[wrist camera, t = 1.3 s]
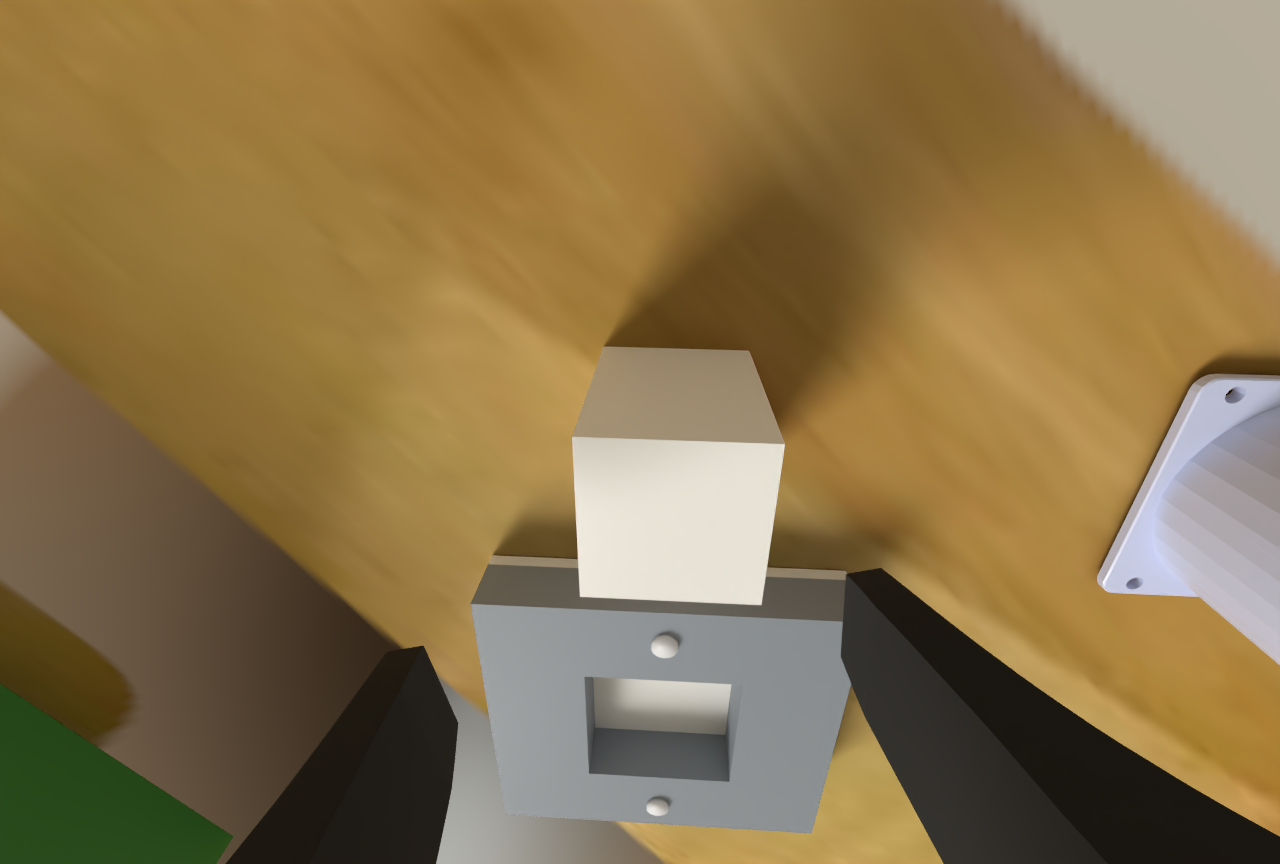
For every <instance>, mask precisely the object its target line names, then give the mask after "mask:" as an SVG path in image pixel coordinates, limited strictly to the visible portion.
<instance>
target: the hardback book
mask: <svg viewBox="0 0 1280 864" xmlns="http://www.w3.org/2000/svg"><path fill="white" fill-rule="evenodd" d="M232 838H233V836H232V835H230V834H229V833H227V832H226V831H224V830H223V829H221V828H220V827H218V826H216V825H215V824H213V823H212V822H210V821H209V820H207V819H206V818H204V817H203V816H201V815H200V814H198V813H197V812H195V811H194V810H192V809H190V808H189V807H187V806H186V805H184V804H183V803H181V802H180V801H178V800H176V799H175V798H174V797H172V796H171V795H169V794H168V793H166V792H165V791H163V790H162V789H160V788H159V787H157V786H155V785H154V784H152V783H151V782H149V781H148V780H146V779H145V778H143V777H142V776H140V775H139V774H137V773H135V772H134V771H132V770H131V769H130V768H128V767H126V766H125V765H123V764H122V763H120V762H119V761H117V760H116V759H114V758H113V757H111V756H110V755H108V754H107V753H105V752H104V751H102V750H101V749H99V748H98V747H96V746H95V745H93V744H91V743H90V742H88V741H87V740H85V739H84V738H82V737H81V736H79V735H78V734H76V733H75V732H73V731H72V730H70V729H69V728H67V727H66V726H64V725H63V724H61V723H59V722H58V721H56V720H55V719H53V718H52V717H50V716H49V715H47V714H46V713H44V712H43V711H41V710H40V709H38V708H37V707H35V706H34V705H32V704H31V703H29V702H27V701H26V700H24V699H23V698H21V697H20V696H18V695H17V694H15V693H14V692H12V691H11V690H9V689H8V688H6V687H5V686H3V685H2V684H0V864H216V863H217V862H218V859H219V858H220V857H221V855H222V853H223V852H224V851H225V849H226V847H227V846H228V844H229V843H230V841H231V840H232Z"/></svg>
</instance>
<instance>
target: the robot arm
mask: <svg viewBox="0 0 1280 864" xmlns="http://www.w3.org/2000/svg"><path fill="white" fill-rule="evenodd" d="M1231 389H1233V391H1232V392H1231V393H1230V394H1229V395H1227V396H1226V394H1227V393H1228V392H1229V390H1231ZM1225 396H1226V397H1225ZM1097 582H1098V584H1099V585H1100V586H1101V587H1102V588H1103V589H1104V590H1106V591H1107V592H1111V593H1126V594H1148V595H1171V596H1193V597H1200V598H1201V599H1202V600H1204V601H1205V602H1206V603H1207V604H1208V605H1209V606H1211V607H1212V608H1213V609H1214V610H1215V611H1216V612H1218V613H1219V614H1220V615H1221V616H1222V617H1224V618H1225V619H1226V620H1227V621H1228V622H1229V623H1231V624H1232V625H1233V626H1234V627H1235V628H1236V629H1238V630H1239V631H1240V632H1241V633H1242V634H1244V635H1245V636H1246V637H1247V638H1248V639H1249V640H1251V641H1252V642H1253V643H1254V644H1255V645H1256V646H1258V647H1259V648H1260V649H1261V650H1262V651H1264V652H1265V653H1266V654H1267V655H1268V656H1269V657H1271V658H1272V659H1273V660H1274V661H1275V662H1276V663H1278V664H1279V665H1280V376H1278V375H1243V374H1209V375H1206V376H1204V377H1201V378H1200V379H1198V380H1197V381H1196V382H1194V383H1193V385H1192V386H1191V387H1190V389H1189V391H1188V393H1187V395H1186V397H1185V399H1184V401H1183V403H1182V405H1181V407H1180V409H1179V411H1178V413H1177V415H1176V417H1175V419H1174V421H1173V423H1172V425H1171V427H1170V429H1169V431H1168V433H1167V436H1166V438H1165V440H1164V442H1163V444H1162V446H1161V448H1160V450H1159V452H1158V454H1157V456H1156V458H1155V460H1154V462H1153V464H1152V466H1151V468H1150V470H1149V472H1148V474H1147V476H1146V478H1145V480H1144V482H1143V484H1142V486H1141V488H1140V490H1139V492H1138V494H1137V496H1136V498H1135V501H1134V503H1133V505H1132V507H1131V509H1130V511H1129V513H1128V515H1127V517H1126V519H1125V521H1124V523H1123V525H1122V527H1121V529H1120V531H1119V533H1118V535H1117V537H1116V539H1115V541H1114V543H1113V545H1112V547H1111V549H1110V551H1109V553H1108V555H1107V557H1106V559H1105V561H1104V563H1103V565H1102V568H1101V570H1100V572H1099V574H1098V576H1097ZM841 659H842V661H843V664H844V666H845V669H846V672H847V674H848V677H849V679H850V682H851V684H852V687H853V689H854V692H855V694H856V697H857V699H858V701H859V704H860V706H861V708H862V711H863V713H864V716H865V718H866V720H867V721H868V723H869V725H870V727H871V729H872V731H873V733H874V735H875V737H876V739H877V740H878V742H879V744H880V746H881V748H882V750H883V752H884V754H885V755H886V757H887V759H888V761H889V763H890V765H891V767H892V769H893V770H894V772H895V774H896V776H897V778H898V780H899V782H900V783H901V785H902V787H903V789H904V791H905V793H906V794H907V796H908V798H909V800H910V802H911V804H912V806H913V807H914V809H915V811H916V813H917V815H918V817H919V819H920V820H921V822H922V824H923V826H924V828H925V830H926V832H927V833H928V835H929V837H930V839H931V841H932V843H933V845H934V846H935V848H936V850H937V852H938V854H939V856H940V858H941V859H942V861H943V863H944V864H1280V837H1279V836H1278V835H1276V834H1274V833H1272V832H1270V831H1268V830H1267V829H1265V828H1263V827H1261V826H1259V825H1258V824H1256V823H1254V822H1252V821H1250V820H1248V819H1247V818H1245V817H1243V816H1241V815H1239V814H1238V813H1236V812H1234V811H1232V810H1230V809H1229V808H1227V807H1225V806H1223V805H1222V804H1220V803H1218V802H1216V801H1215V800H1213V799H1211V798H1210V797H1208V796H1206V795H1204V794H1203V793H1201V792H1199V791H1197V790H1196V789H1194V788H1192V787H1191V786H1189V785H1187V784H1186V783H1184V782H1182V781H1181V780H1179V779H1177V778H1176V777H1174V776H1172V775H1171V774H1169V773H1168V772H1166V771H1164V770H1163V769H1161V768H1159V767H1158V766H1156V765H1155V764H1153V763H1151V762H1150V761H1148V760H1146V759H1145V758H1143V757H1141V756H1140V755H1138V754H1137V753H1135V752H1133V751H1132V750H1130V749H1128V748H1127V747H1125V746H1124V745H1122V744H1120V743H1119V742H1117V741H1116V740H1114V739H1113V738H1111V737H1109V736H1108V735H1106V734H1105V733H1103V732H1102V731H1100V730H1099V729H1097V728H1096V727H1094V726H1092V725H1091V724H1089V723H1088V722H1086V721H1085V720H1084V719H1082V718H1081V717H1079V716H1078V715H1076V714H1075V713H1073V712H1072V711H1070V710H1069V709H1067V708H1066V707H1065V706H1063V705H1062V704H1060V703H1059V702H1057V701H1056V700H1054V699H1053V698H1051V697H1050V696H1048V695H1047V694H1046V693H1044V692H1043V691H1041V690H1040V689H1038V688H1037V687H1036V686H1034V685H1033V684H1031V683H1030V682H1029V681H1027V680H1026V679H1024V678H1023V677H1022V676H1020V675H1019V674H1018V673H1016V672H1015V671H1013V670H1012V669H1011V668H1009V667H1008V666H1007V665H1005V664H1004V663H1003V662H1001V661H1000V660H999V659H997V658H996V657H995V656H993V655H992V654H991V653H989V652H988V651H987V650H985V649H984V648H983V647H981V646H980V645H979V644H977V643H976V642H975V641H973V640H972V639H971V638H969V637H968V636H967V635H965V634H964V633H963V632H961V631H960V630H959V629H958V628H956V627H955V626H954V625H953V624H951V623H950V622H949V621H947V620H946V619H945V618H944V617H942V616H941V615H940V614H938V613H937V612H936V611H935V610H933V609H932V608H931V607H930V606H928V605H927V604H926V603H925V602H923V601H922V600H921V599H920V598H918V597H917V596H916V595H915V594H913V593H912V592H911V591H910V590H908V589H907V588H906V587H905V586H903V585H902V584H901V583H899V582H898V581H897V580H896V579H894V578H893V577H892V576H891V575H889V574H888V573H887V572H885V571H884V570H883V569H882V568H878V569H872V570H867V571H861V572H855V573H849V574H846V582H845V597H844V612H843V627H842V642H841ZM457 730H458V722H457V719H456V717H455V715H454V713H453V710H452V708H451V706H450V704H449V701H448V699H447V697H446V695H445V693H444V690H443V688H442V686H441V683H440V681H439V679H438V677H437V674H436V672H435V670H434V668H433V665H432V663H431V661H430V659H429V657H428V654H427V652H426V650H425V648H424V646H419V647H413V648H407V649H401V650H395V651H389V652H387V653H386V654H385V655H384V657H383V658H382V659H381V661H380V662H379V663H378V665H377V666H376V667H375V669H374V670H373V671H372V673H371V674H370V675H369V677H368V678H367V679H366V681H365V682H364V684H363V685H362V686H361V688H360V689H359V690H358V692H357V693H356V695H355V696H354V697H353V699H352V700H351V702H350V703H349V704H348V706H347V707H346V708H345V710H344V711H343V713H342V714H341V715H340V717H339V718H338V719H337V721H336V722H335V724H334V725H333V726H332V728H331V729H330V730H329V732H328V733H327V734H326V736H325V737H324V738H323V740H322V741H321V743H320V744H319V745H318V747H317V748H316V749H315V751H314V752H313V753H312V754H311V756H310V757H309V758H308V760H307V761H306V762H305V764H304V765H303V767H302V768H301V769H300V770H299V772H298V773H297V774H296V776H295V777H294V778H293V780H292V781H291V783H290V784H289V785H288V786H287V788H286V789H285V790H284V792H283V793H282V794H281V795H280V797H279V798H278V799H277V801H276V802H275V803H274V804H273V806H272V807H271V808H270V809H269V811H268V812H267V813H266V814H265V816H264V817H263V818H262V819H261V821H260V822H259V823H258V824H257V826H256V827H255V828H254V829H253V830H252V832H251V833H250V834H249V835H248V837H247V838H246V839H245V840H244V842H243V843H242V844H241V845H240V847H239V848H238V849H237V850H236V852H235V853H234V854H233V855H232V857H231V858H230V859H229V860H228V862H227V863H226V864H436V861H437V856H438V852H439V847H440V842H441V838H442V833H443V827H444V823H445V819H446V814H447V809H448V804H449V799H450V794H451V789H452V780H453V771H454V763H455V752H456V741H457Z"/></svg>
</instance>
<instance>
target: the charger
mask: <svg viewBox="0 0 1280 864" xmlns="http://www.w3.org/2000/svg"><path fill="white" fill-rule="evenodd" d="M572 444H573V465H574V486H575V506H576V527H577V548H578V568H579V589H580V597H594V598H616V599H637V600H659V601H681V602H703V603H724V604H746V605H762V598H763V591H764V584H765V577H766V571H767V564H768V557H769V550H770V543H771V537H772V530H773V523H774V516H775V509H776V503H777V496H778V489H779V482H780V475H781V469H782V462H783V455H784V448H785V443H784V440H783V437H782V435H781V432H780V430H779V427H778V424H777V422H776V419H775V417H774V414H773V411H772V409H771V406H770V403H769V401H768V398H767V396H766V393H765V390H764V388H763V385H762V383H761V380H760V377H759V375H758V372H757V369H756V367H755V364H754V362H753V359H752V356H751V354H750V351H745V350H710V349H674V348H638V347H603V349H602V352H601V355H600V358H599V361H598V364H597V367H596V370H595V372H594V375H593V378H592V381H591V384H590V387H589V390H588V393H587V395H586V398H585V401H584V404H583V407H582V410H581V413H580V416H579V419H578V421H577V424H576V427H575V430H574V433H573V436H572Z"/></svg>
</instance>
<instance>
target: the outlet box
mask: <svg viewBox="0 0 1280 864" xmlns="http://www.w3.org/2000/svg"><path fill="white" fill-rule="evenodd" d="M846 574H847V572H846V571H839V570H816V569H793V568H770V567H767V571H766V577H765V584H764V591H763V598H762V605H746V604H724V603H703V602H681V601H659V600H637V599H616V598H594V597H580V589H579V568H578V559H565V558H542V557H519V556H496V555H492V557H491V559H490V561H489V564H488V566H487V568H486V570H485V573H484V575H483V577H482V579H481V582H480V584H479V586H478V588H477V591H476V593H475V595H474V597H473V600H472V602H471V610H472V616H473V622H474V628H475V634H476V640H477V646H478V652H479V658H480V664H481V670H482V676H483V682H484V688H485V694H486V700H487V706H488V712H489V718H490V724H491V730H492V736H493V742H494V748H495V754H496V760H497V766H498V772H499V778H500V784H501V790H502V796H503V802H504V808H505V814H509V815H524V816H541V817H556V818H557V817H558V818H572V819H590V820H604V821H620V822H636V823H652V824H668V825H684V826H700V827H715V828H731V829H747V830H763V831H779V832H795V833H812V830H813V826H814V822H815V818H816V815H817V811H818V807H819V803H820V799H821V796H822V792H823V788H824V784H825V781H826V777H827V773H828V769H829V766H830V762H831V758H832V754H833V751H834V747H835V743H836V739H837V736H838V732H839V728H840V724H841V720H842V717H843V713H844V709H845V705H846V702H847V698H848V694H849V690H850V687H851V682H850V679H849V677H848V674H847V672H846V669H845V666H844V664H843V661H842V659H841V642H842V627H843V612H844V597H845V582H846Z"/></svg>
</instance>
